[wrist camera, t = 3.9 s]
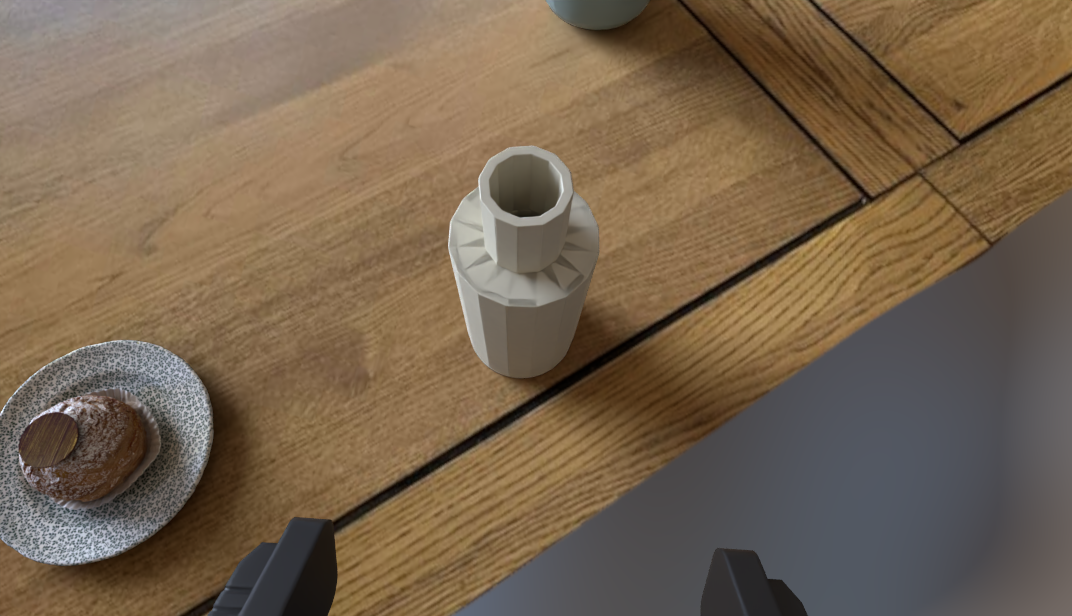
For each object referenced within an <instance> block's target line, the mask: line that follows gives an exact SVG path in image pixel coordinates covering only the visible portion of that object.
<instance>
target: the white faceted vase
mask: <svg viewBox="0 0 1072 616" xmlns="http://www.w3.org/2000/svg"><path fill="white" fill-rule="evenodd" d="M448 248H449V253H450V257H451V262H452V266H453V270H454V274H455V279H456V283H457V287H458V291H459V296H460V300H461V304H462V308H463V313H464V317H465V321H466V325H467V330H468V334H469V337H470V339H471V342H472V346H473V348H474V350H475V352H476V354H477V355H478V357H479V358H480V359H481V360H482V362H483V363H484V364H485V365H487V366H488V367H489V368H490V369H492V370H493V371H495V372H497V373H499V374H502V375H504V376H508V377H512V378H530V377H535V376H538V375H541V374H543V373H546V372H548V371H549V370H551V369H552V368H554V367H555V366H556V365H557V364H558V363H559V362H560V361H561V360H562V359H563V358H564V356H565V355H566V353H567V351H568V349H569V347H570V344H571V342H572V340H573V337H574V334H575V331H576V328H577V324H578V321H579V318H580V314H581V311H582V308H583V305H584V301H585V298H586V295H587V291H588V288H589V285H590V282H591V278H592V275H593V272H594V269H595V265H596V262H597V259H598V255H599V227H598V224H597V222H596V220H595V218H594V216H593V214H592V212H591V210H590V208H589V206H588V204H587V202H586V201H585V200H584V199H582V198H581V197H580V196H579V195H578V194H577V193H576V192H575V191H574V190H573V183H572V177H571V172H570V170H569V169H568V168H567V167H566V166H565V164H564V163H563V162H562V161H561V160H560V159H559V158H558V156H557V155H555V154H554V153H551V152H548V151H546V150H543V149H541V148H538V147H536V146H522V147H510V148H508V149H506V150H504V151H502V152H501V153H499V154H497V155H496V156H494V157H492V158H490V160H489V161H488V162H487V164H486V166H485V168H484V169H483V171H482V173H481V175H480V176H479V187H477V188H476V189H475V190H474V191H472V192H471V193H470V194H468V195H467V196H466V197H465V198H464V199H463V200H462V202H461V204H460V206H459V207H458V209H457V211H456V213H455V214H454V216H453V218H452V220H451V222H450V232H449V244H448Z"/></svg>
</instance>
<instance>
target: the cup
mask: <svg viewBox="0 0 1072 616" xmlns="http://www.w3.org/2000/svg"><path fill="white" fill-rule="evenodd" d="M546 2H547V3H548V5H549V7H550V8H551V10H552V11H553V12H554V13H555V14H556V15H557V16H558V17H559V18H560V19H562V20H563V21H565V22H566V23H568V24H570V25H573V26H575V27H579V28H583V29H589V30H607V29H613V28H616V27H619V26H622V25H625V24H627V23H628V22H630V21H632V20H633V19H635V18H636V17H637V16H638V15H639V14H640V13H641V12H642V11H643V10H644V9H645V8H646V6H647V5H648V4H649V2H650V0H546Z"/></svg>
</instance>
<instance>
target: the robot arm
mask: <svg viewBox="0 0 1072 616" xmlns="http://www.w3.org/2000/svg"><path fill="white" fill-rule="evenodd" d="M336 585H337V561H336V550H335V539H334V528H333V522H332V520H328V519H314V518H300V517H294V518H293V519H292V520H291V521H290V522H289V524H288V526H287V527H286V529H285V531H284V533H283V535H282V537H281V538H280V540H279V542H278V543H265V542H262V543H261V544H260V545H259V546H257V547H256V548H255V549H254V550H253V551H252V552H251V553H250V554H248V555H247V556H246V557H245V558H244V559H243V560H242V561H240V562H239V564H238V566H237V567H236V569H235V571H234V572H233V574H232V576H231V577H230V579H229V581H228V582H227V584H226V586H225V590H224V591H222V592H221V594H220V596H219V597H218V599H217V601H216V602H215V604H214V606H213V610H212V611H210V612H209V614H208V616H328V613H329V610H330V608H331V605H332V602H333V599H334V595H335V591H336ZM701 616H808V615H807V613H806V611H805V609H804V606H803V604H802V602H801V601H800V600H799V599H798V598H797V597H796V596H795V595H794V593H793V592H792V591H791V590H790V589H789V588H788V587H787V585H786V584H785V583H784V582H783V581H782V580H776V579H767V577H766V574H765V571H764V569H763V567H762V564H761V562H760V559H759V557H758V555H757V554H756V553H755V552H754V551H750V550H736V549H723V548H717V549H716V550H715V552H714V555H713V558H712V562H711V565H710V569H709V573H708V577H707V580H706V584H705V588H704V591H703V595H702V600H701Z"/></svg>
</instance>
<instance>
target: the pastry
mask: <svg viewBox="0 0 1072 616" xmlns="http://www.w3.org/2000/svg"><path fill="white" fill-rule="evenodd" d="M209 398H210V397H209V394H208V391H207V388H206V387H205V386H204V384H203V383H202V381H201V379H200V378H199V377H198V375H197V373H196V372H194V370H193V369H192V368H191V367H190V365H189V364H188V363H186V362H185V361H184V360H183V359H181V358H180V357H178V356H177V355H175V354H173V353H172V352H170V351H168V350H166V349H164V348H163V347H161V346H157V345H155V344H151V343H147V342H142V341H133V340H118V341H110V342H105V343H100V344H95V345H90V346H86V347H83V348H80V349H78V350H75V351H73V352H71V353H69V354H67V355H65V356H63V357H61V358H59V359H56V360H54V361H52V362H51V363H49V364H48V365H46V366H45V367H43V368H42V369H40V370H39V371H38V372H36V373H35V374H34V375H32V376H31V377H30V378H29V379H28V380H27V381H26V382H25V383H24V384H23V385H22V386H21V387H19V388H18V390H17V391H16V392H15V393H14V395H13V396H12V397H11V398H10V399H9V400H8V402H7V403H6V405H5V407H4V408H3V411H2V412H1V413H0V538H1V540H3V542H5V543H6V544H7V545H8V546H10V547H12V548H13V549H15V550H17V551H18V552H19V553H20V554H22V555H24V556H25V557H27V558H30V559H32V560H34V561H37V562H40V563H45V564H50V565H59V566H72V565H81V564H87V563H92V562H96V561H100V560H105V559H108V558H112V557H114V556H118V555H119V554H122V553H124V552H125V551H127V550H130V549H132V548H133V547H135V546H136V545H138V544H140V543H142V542H144V541H146V540H147V539H148V538H150V537H151V536H153V535H154V534H155V533H157V532H158V531H159V530H160V529H161V528H162V527H164V526H165V525H166V524H167V523H168V522H169V521H170V520H171V519H172V518H173V517H174V516H175V515H176V514H177V513H178V512H179V511H180V510H181V509H182V507H183V506H184V504H185V503H186V502H187V500H188V499H189V498H190V497H191V495H192V493H193V492H194V491H195V487H196V485H197V484H198V483H199V481H200V479H201V477H202V475H203V471H204V469H205V467H206V465H207V462H208V459H209V454H210V451H211V445H212V442H213V434H214V430H213V410H212V405H211V402H210V399H209Z"/></svg>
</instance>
